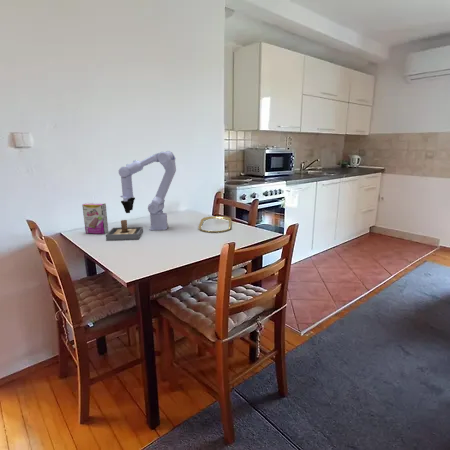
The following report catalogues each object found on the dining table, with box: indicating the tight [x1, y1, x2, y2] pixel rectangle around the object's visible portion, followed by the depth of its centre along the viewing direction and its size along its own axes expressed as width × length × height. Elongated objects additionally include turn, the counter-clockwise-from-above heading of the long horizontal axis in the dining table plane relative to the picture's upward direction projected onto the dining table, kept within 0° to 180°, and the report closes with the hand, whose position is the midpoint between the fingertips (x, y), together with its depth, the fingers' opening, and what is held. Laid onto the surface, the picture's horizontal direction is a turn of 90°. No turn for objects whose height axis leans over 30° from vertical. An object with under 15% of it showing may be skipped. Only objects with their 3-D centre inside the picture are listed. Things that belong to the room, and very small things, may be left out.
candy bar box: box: [81, 202, 109, 235], centre depth 177 cm, size 11×5×16 cm, turn 84°
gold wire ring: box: [197, 215, 232, 234], centre depth 194 cm, size 19×35×2 cm, turn 178°
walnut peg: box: [120, 219, 128, 233], centre depth 171 cm, size 3×3×8 cm
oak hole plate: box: [114, 229, 137, 234], centre depth 172 cm, size 10×10×2 cm
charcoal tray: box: [105, 226, 144, 242], centre depth 172 cm, size 16×14×3 cm
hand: (129, 211), depth 187 cm, fingers open, 7 cm apart
